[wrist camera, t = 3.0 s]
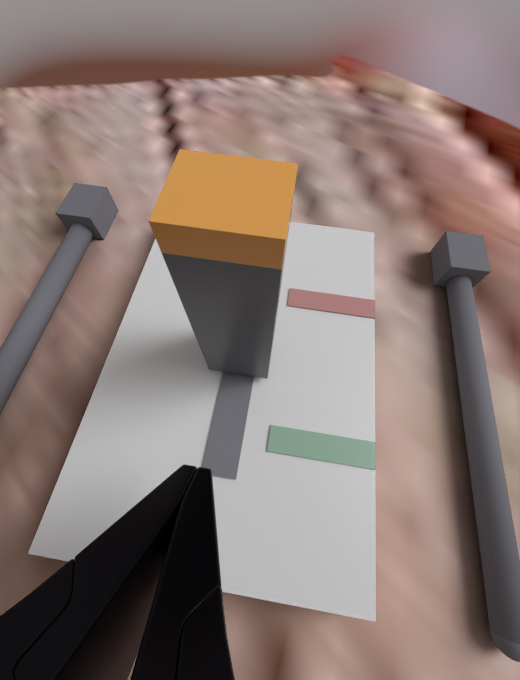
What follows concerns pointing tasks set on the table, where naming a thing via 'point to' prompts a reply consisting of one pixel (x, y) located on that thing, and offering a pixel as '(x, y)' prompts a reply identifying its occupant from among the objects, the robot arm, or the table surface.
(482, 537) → the pair of grey rods
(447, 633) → the table surface
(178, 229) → the breaker lever
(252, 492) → the breaker panel
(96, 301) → the table surface
